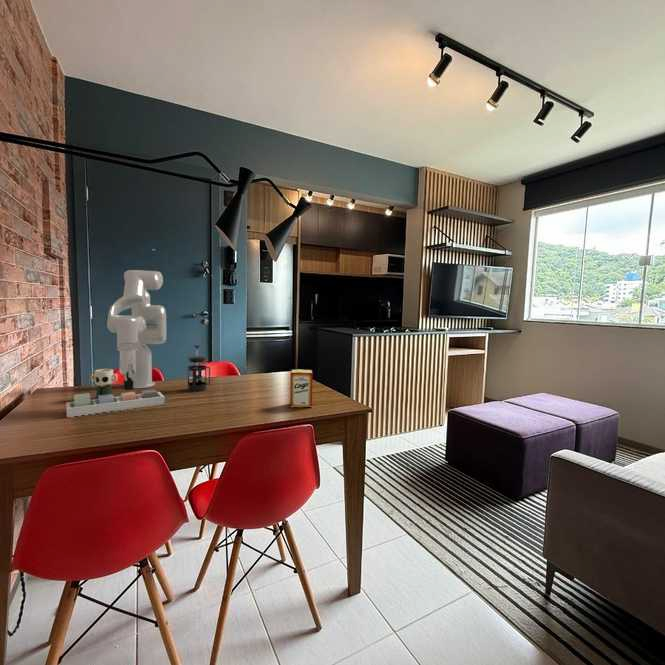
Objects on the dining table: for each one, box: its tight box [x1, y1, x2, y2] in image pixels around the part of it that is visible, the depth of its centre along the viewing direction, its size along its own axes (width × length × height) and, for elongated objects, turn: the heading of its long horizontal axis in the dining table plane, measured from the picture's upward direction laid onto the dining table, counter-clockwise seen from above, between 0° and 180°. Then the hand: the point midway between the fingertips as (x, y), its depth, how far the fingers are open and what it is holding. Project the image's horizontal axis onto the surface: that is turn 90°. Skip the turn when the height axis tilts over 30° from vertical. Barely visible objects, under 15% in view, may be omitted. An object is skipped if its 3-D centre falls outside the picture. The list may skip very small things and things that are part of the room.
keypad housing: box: [65, 391, 166, 418], centre depth 146 cm, size 10×34×4 cm, turn 128°
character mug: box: [90, 368, 118, 399], centre depth 159 cm, size 11×7×13 cm, turn 100°
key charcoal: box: [141, 389, 158, 399], centre depth 154 cm, size 5×5×4 cm
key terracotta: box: [120, 391, 137, 401], centre depth 149 cm, size 5×5×4 cm
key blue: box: [98, 393, 115, 404], centre depth 144 cm, size 5×5×4 cm
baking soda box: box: [289, 368, 314, 407], centre depth 156 cm, size 10×6×16 cm
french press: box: [186, 344, 211, 393], centre depth 179 cm, size 12×9×23 cm
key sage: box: [73, 392, 91, 407], centre depth 139 cm, size 5×5×4 cm
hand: (128, 389), depth 149 cm, fingers closed
